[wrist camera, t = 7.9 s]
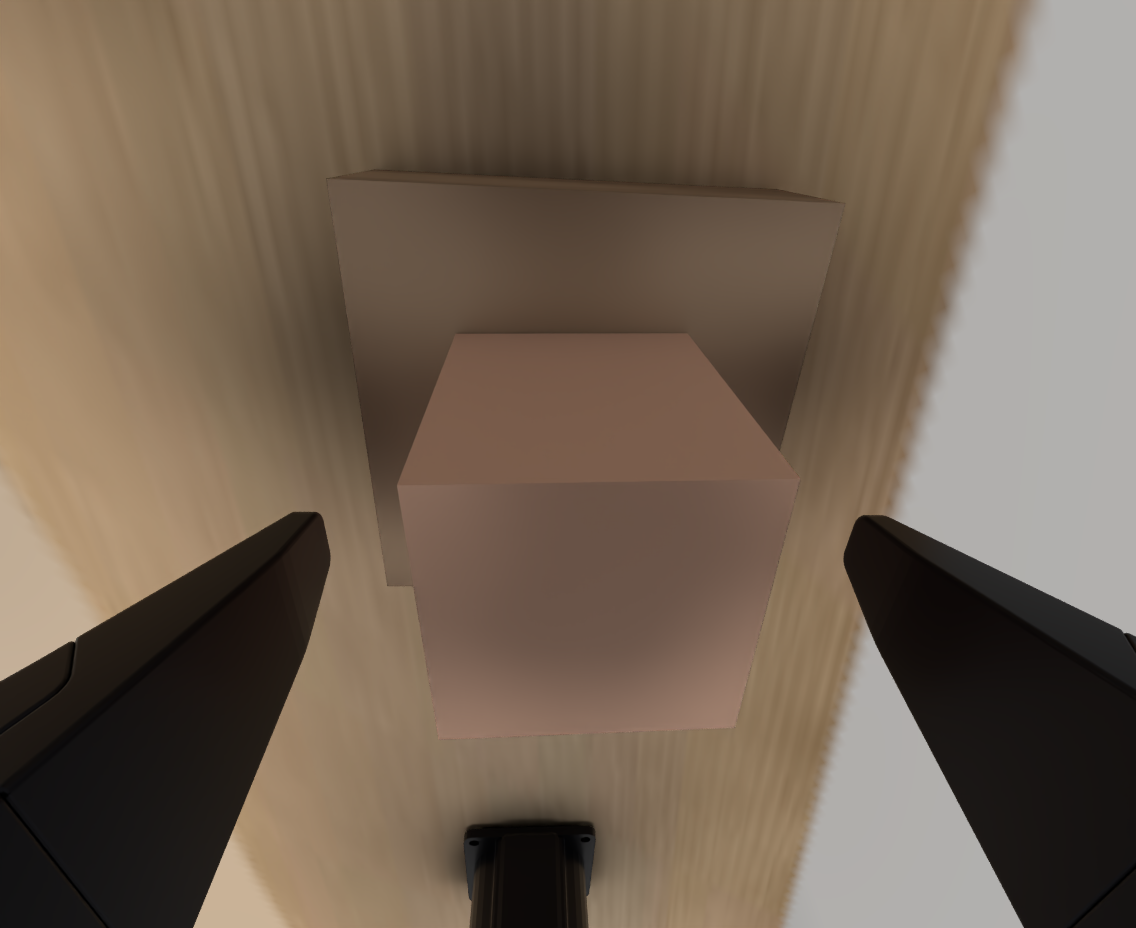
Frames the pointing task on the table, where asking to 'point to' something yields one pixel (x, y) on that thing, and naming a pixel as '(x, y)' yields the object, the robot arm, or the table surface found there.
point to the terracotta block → (589, 536)
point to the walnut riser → (566, 286)
